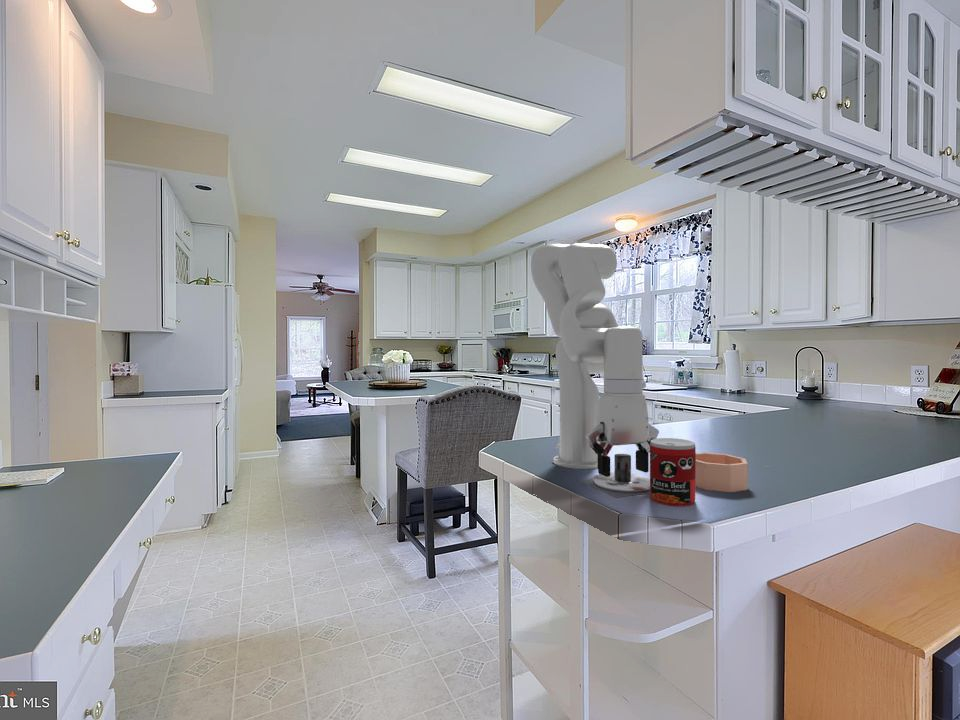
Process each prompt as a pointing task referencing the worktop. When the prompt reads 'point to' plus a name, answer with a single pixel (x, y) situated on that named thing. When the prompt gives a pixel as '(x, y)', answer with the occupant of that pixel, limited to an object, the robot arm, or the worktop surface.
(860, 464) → the worktop surface
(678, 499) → the canned food
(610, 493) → the plate
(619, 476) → the lid
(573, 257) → the robot arm
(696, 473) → the bowl
